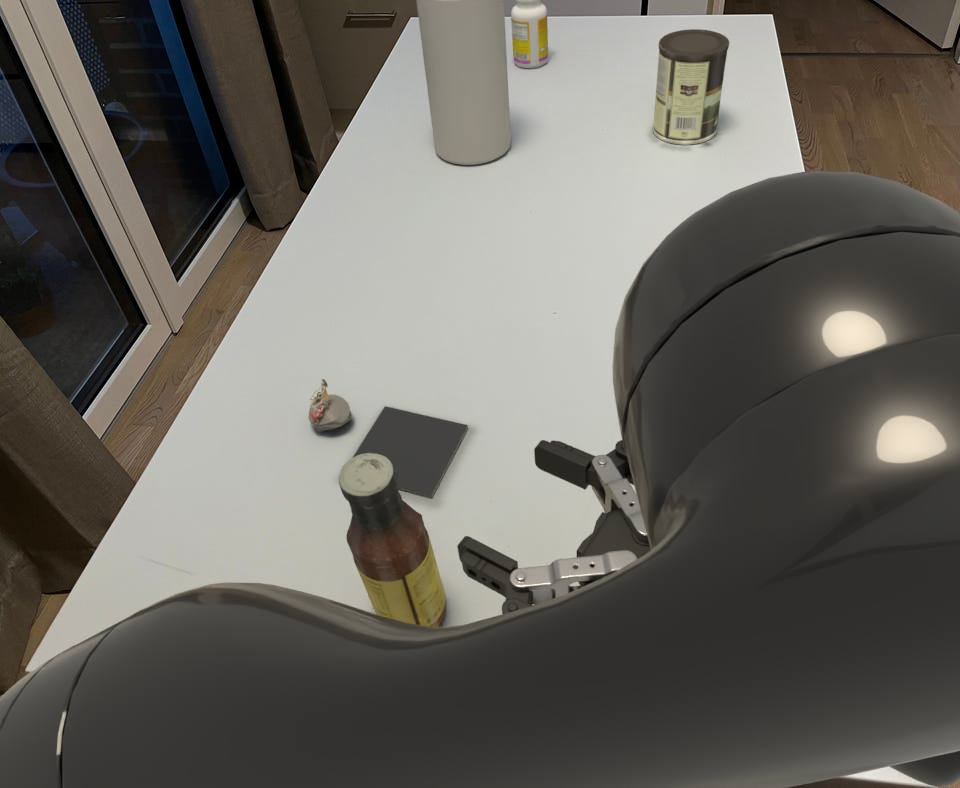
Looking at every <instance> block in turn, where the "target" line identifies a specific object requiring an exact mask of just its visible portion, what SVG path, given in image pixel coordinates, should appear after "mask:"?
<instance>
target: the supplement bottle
mask: <svg viewBox="0 0 960 788" xmlns="http://www.w3.org/2000/svg"><path fill="white" fill-rule="evenodd" d="M515 2H516V4H515V5H514V6H513V7H512V8H511V11H510V20H511V37H512V39H511V40H512V56H513V57H512V58H513V63H514V64H515V65H516V66H517V67H519V68H522V69H535V68H539V67H542V66H544V65H545V64H546V63H547V62H548V61H549V38H548V37H549V36H548V33H549V32H548V8H547V7H546V5H545V4H543V2H541V0H515Z"/></svg>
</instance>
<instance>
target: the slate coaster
mask: <svg viewBox="0 0 960 788" xmlns="http://www.w3.org/2000/svg"><path fill="white" fill-rule="evenodd" d="M468 429H469V424H465V423H461V422H456V421H452V420H448V419H442V418H439V417H434V416H430V415H426V414H421V413H417V412H413V411H407V410H404V409H399V408H396V407H391V406H386V405H385V406H384V407H383V408H382V410H381V412H379V415H378V416H377V418H376V420H375V421H374V422H373V424H372V426H371V428H369V431H368V432H367V434H366V435H365V437H364V438H363V440H362V442H361V443H360V445H359V446H358V448H357V449H356V451H355V453H354V455H353V456H352V458H353V457H355V456H357V455H360V454H366V453H375V454H380V455H382V456H385V457H387V458H388V459H389V460H390V461H391V463H392V464H393V466H394V469H395V472H396V474H397V478H398V481H397V488H398V491H402V492H405V493H409V494H414V495H418V496H422V497H426V498H430V499H433V497H434V495H435V493H436V491H437V489H438V487H439V485H440V483H441V481H442V480H443V477H444V476H445V474H446V472H447V470H448V468H449V466H450V464H451V462H452V461H453V458H454V457H455V454H456V453H457V450H458V448H459V446H460V444H461V442H462V441H463V439H464V437H465V435H466V433H467V431H468Z"/></svg>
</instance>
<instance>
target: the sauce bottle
mask: <svg viewBox="0 0 960 788" xmlns="http://www.w3.org/2000/svg"><path fill="white" fill-rule="evenodd" d="M397 481H398V478H397V474H396V472H395V469H394V466H393V464H392V463H391V461H390V460H389V459H388V458H387V457H385V456H382V455H380V454H375V453H366V454H360V455H357V456H355V457H353V456H352V457H351V459H349V460H348V461H347V462H346V463H345V464H344V465H343V466H342V468H341V470H340V472H339V475H338V484H339V488H340V490H341V494H342V496H343V498H344V499H345V500H346V501H347V502H348V503H349V507H350V512H351V519H350V523H349V527H348V529H347V532H346V543H347V546H348V547H349V549H350V552H351V554H352V557H353V562H354V564H355V567H356V570H357V572H358V574H359V576H360V579H361V581H362V583H363V587H364V589H365V591H366V593H367V596H368V598H369V601H370V604H371V606H372V609H373V611H374V614H376V615H379V616H382V617H386V618H390V619H394V620H398V621H402V622H406V623H410V624H417V625H423V626H434V627H440V625H441V624H442V622H443V620H444V619H445V616H446V611H447V610H446V606H447V605H446V603H447V602H446V593H445V588H444V584H443V581H442V578H441V574H440V570H439V566H438V563H437V559H436V555H435V552H434V549H433V546H432V545H433V544H432V542H431V539H430V535H429V531H428V530H427V528H426V525H425V522H424V519H423V515H422V514H421V513H419V512H418V511H416V510H415V509H414V508H413V507H412V506H411V505H410V504H408V503H407V502H406V501H405V500H403V497H402V495H401V493H400V490H399V489H398V488H397Z"/></svg>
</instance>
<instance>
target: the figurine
mask: <svg viewBox="0 0 960 788" xmlns="http://www.w3.org/2000/svg"><path fill="white" fill-rule="evenodd" d="M320 382H321V383H320V387H318V388H317V389H315V391H314V392H313V394H312V395H311V397H310V398H309V400H310V401H309V406H310V407H309V410H308V420H309V422H310V425H311V426H312V427H313V428H314V429H315V430H316V431H317V432H324V431H333V430H336V429H338V428H340V427H343V426H344V425H345V424H346V423H348V422H350V421H351V420H352V418H353V414H352V411H351V408H350V405H349V403H348V401H347V400H346V399H345V398H344V397H342V396H340V395H337V394H328V391H327V389H328V388H329V385H328V383H327V381H326V379H325V378H321V381H320ZM320 389H321V391H319V390H320Z"/></svg>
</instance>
